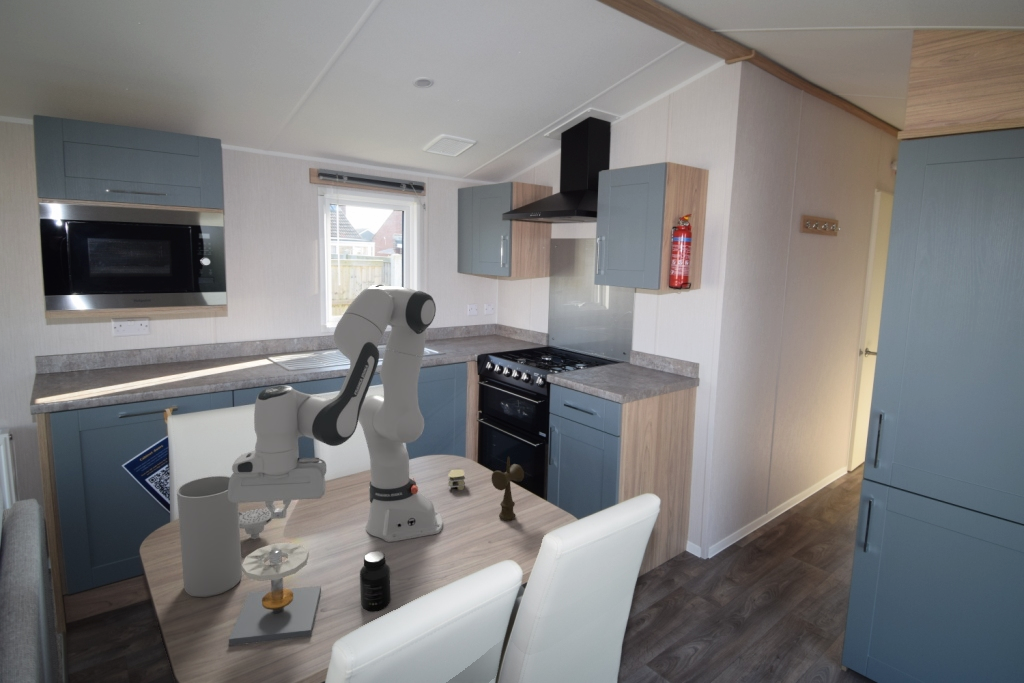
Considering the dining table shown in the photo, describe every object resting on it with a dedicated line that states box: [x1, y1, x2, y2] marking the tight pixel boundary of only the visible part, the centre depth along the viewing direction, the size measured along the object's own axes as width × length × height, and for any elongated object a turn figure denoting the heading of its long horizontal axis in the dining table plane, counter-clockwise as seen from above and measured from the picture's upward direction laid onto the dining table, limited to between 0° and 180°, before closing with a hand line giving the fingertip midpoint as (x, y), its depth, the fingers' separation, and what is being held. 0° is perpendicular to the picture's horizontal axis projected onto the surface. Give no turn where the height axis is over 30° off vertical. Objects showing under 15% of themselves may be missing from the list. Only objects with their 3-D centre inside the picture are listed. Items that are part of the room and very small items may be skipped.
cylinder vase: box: [176, 475, 243, 598], centre depth 132 cm, size 12×12×25 cm
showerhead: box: [239, 508, 273, 540], centre depth 156 cm, size 9×7×10 cm
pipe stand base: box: [228, 585, 322, 646], centre depth 122 cm, size 16×16×2 cm
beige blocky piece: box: [447, 469, 466, 491], centre depth 192 cm, size 10×9×6 cm
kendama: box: [491, 456, 525, 521], centre depth 169 cm, size 6×10×20 cm, turn 140°
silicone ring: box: [242, 542, 310, 582], centre depth 120 cm, size 13×13×1 cm
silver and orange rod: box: [262, 549, 293, 614], centre depth 121 cm, size 6×6×14 cm
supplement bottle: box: [359, 550, 392, 613], centre depth 127 cm, size 7×7×12 cm
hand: (279, 517), depth 124 cm, fingers closed
